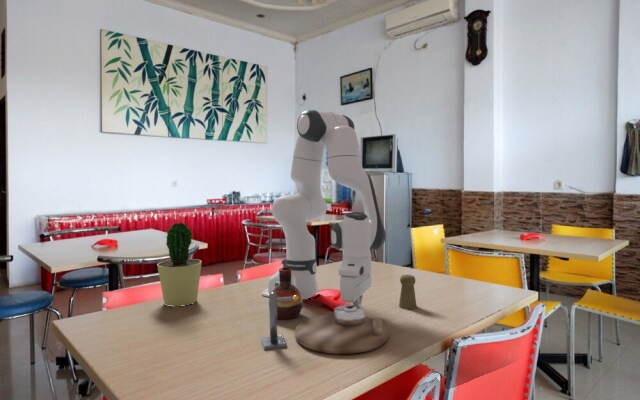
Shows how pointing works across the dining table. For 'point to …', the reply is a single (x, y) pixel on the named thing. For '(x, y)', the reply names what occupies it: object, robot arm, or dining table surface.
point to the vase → (287, 290)
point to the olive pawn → (407, 292)
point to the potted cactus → (179, 268)
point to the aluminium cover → (349, 315)
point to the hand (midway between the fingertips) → (357, 308)
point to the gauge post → (275, 323)
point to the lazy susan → (341, 335)
